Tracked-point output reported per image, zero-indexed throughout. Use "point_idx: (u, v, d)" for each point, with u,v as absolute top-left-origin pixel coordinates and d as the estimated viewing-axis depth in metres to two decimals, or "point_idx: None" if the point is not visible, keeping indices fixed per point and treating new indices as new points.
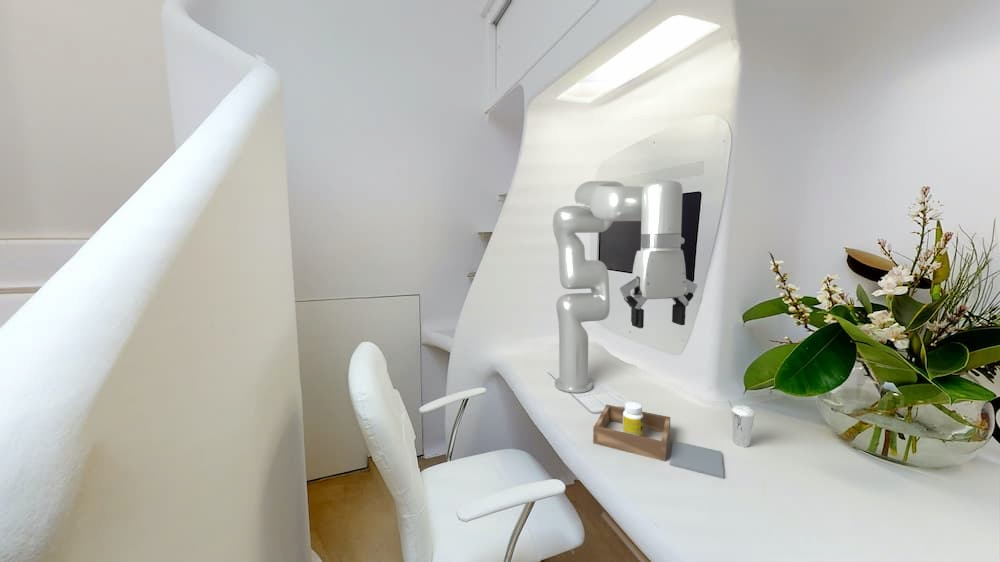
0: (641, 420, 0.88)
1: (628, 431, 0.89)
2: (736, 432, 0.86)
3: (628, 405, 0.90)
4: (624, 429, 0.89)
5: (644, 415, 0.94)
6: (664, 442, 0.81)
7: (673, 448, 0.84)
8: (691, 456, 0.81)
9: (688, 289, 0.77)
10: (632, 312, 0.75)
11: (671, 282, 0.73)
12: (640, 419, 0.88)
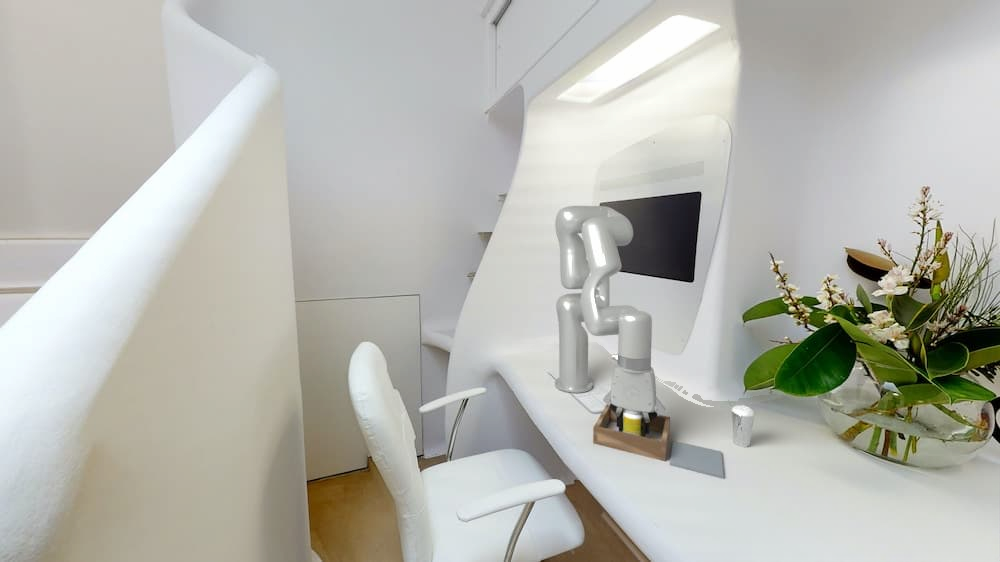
0: (641, 420, 0.88)
1: (628, 431, 0.89)
2: (736, 432, 0.86)
3: None
4: (624, 429, 0.89)
5: None
6: (664, 442, 0.81)
7: (673, 448, 0.84)
8: (691, 456, 0.81)
9: (611, 400, 0.92)
10: (648, 424, 0.88)
11: None
12: (640, 419, 0.88)
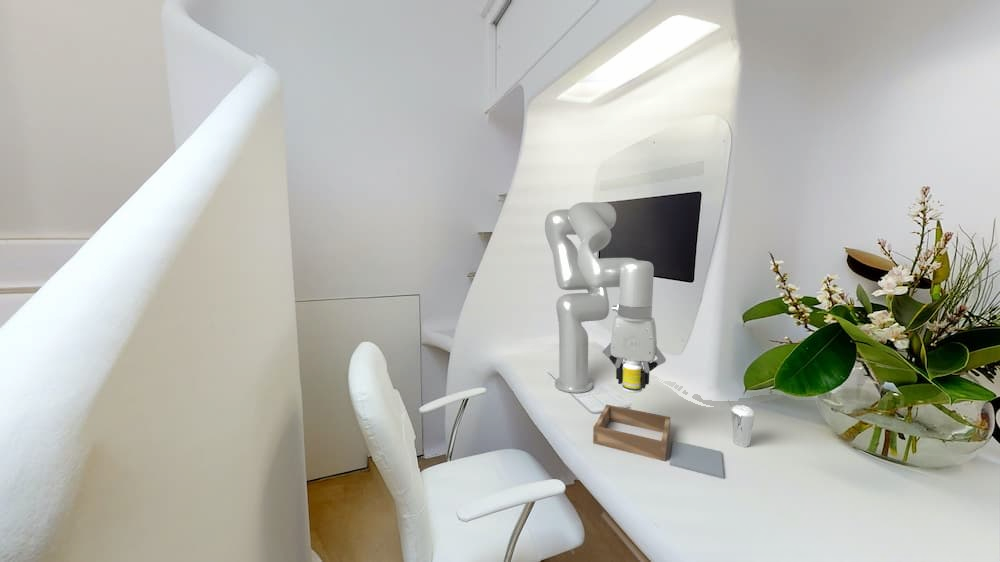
0: (641, 370, 0.87)
1: (628, 382, 0.88)
2: (736, 432, 0.86)
3: None
4: (624, 380, 0.89)
5: (644, 415, 0.94)
6: (664, 442, 0.81)
7: (673, 448, 0.84)
8: (691, 456, 0.81)
9: (610, 352, 0.91)
10: (648, 375, 0.87)
11: None
12: (640, 369, 0.87)
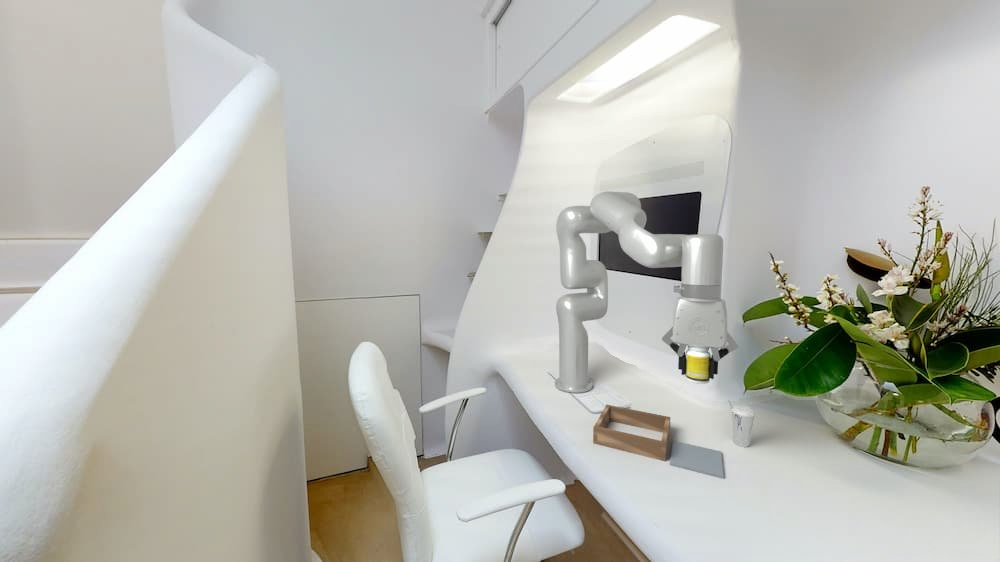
0: (709, 358, 0.77)
1: (694, 371, 0.78)
2: (736, 432, 0.86)
3: None
4: (689, 370, 0.78)
5: (644, 415, 0.94)
6: (664, 442, 0.81)
7: (673, 448, 0.84)
8: (691, 456, 0.81)
9: (671, 339, 0.81)
10: None
11: None
12: (708, 357, 0.77)
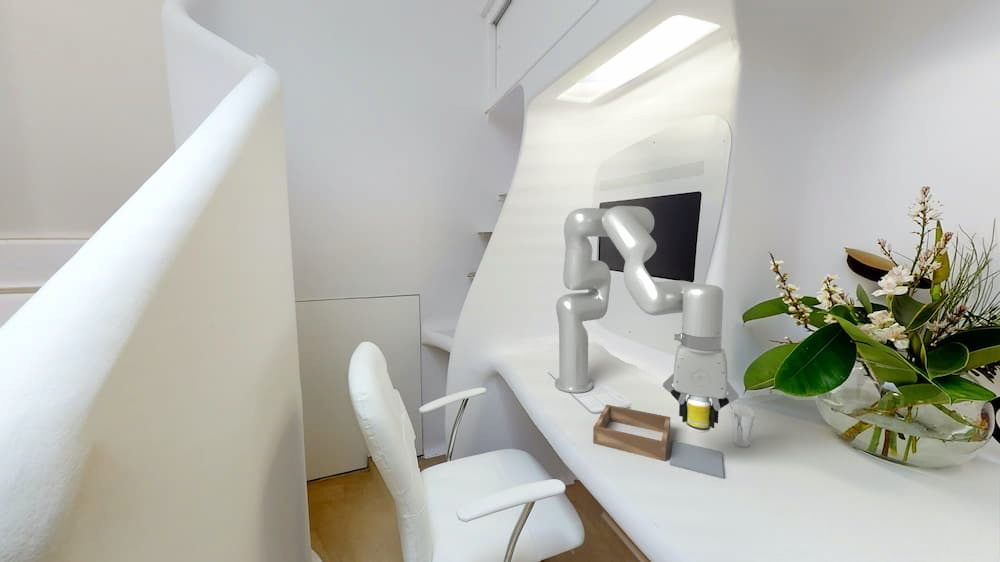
0: (709, 407, 0.78)
1: (694, 420, 0.78)
2: (736, 432, 0.86)
3: None
4: (689, 418, 0.79)
5: (644, 415, 0.94)
6: (664, 442, 0.81)
7: (673, 448, 0.84)
8: (691, 456, 0.81)
9: (672, 386, 0.82)
10: None
11: None
12: (709, 406, 0.78)
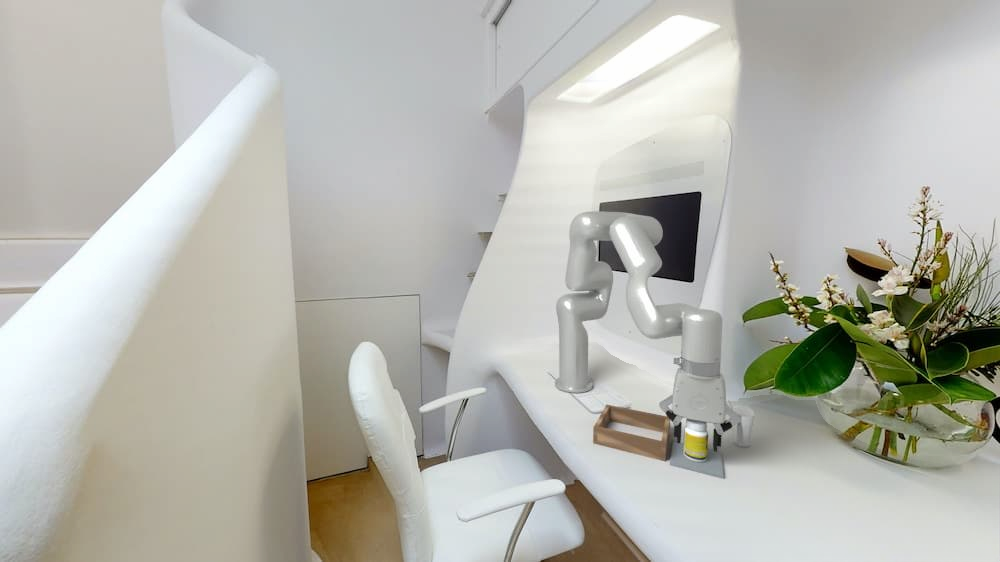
0: (706, 437, 0.79)
1: (692, 450, 0.79)
2: (736, 432, 0.86)
3: (691, 420, 0.80)
4: (687, 447, 0.80)
5: (644, 415, 0.94)
6: (664, 442, 0.81)
7: (673, 448, 0.84)
8: None
9: (667, 407, 0.83)
10: None
11: None
12: (706, 436, 0.79)
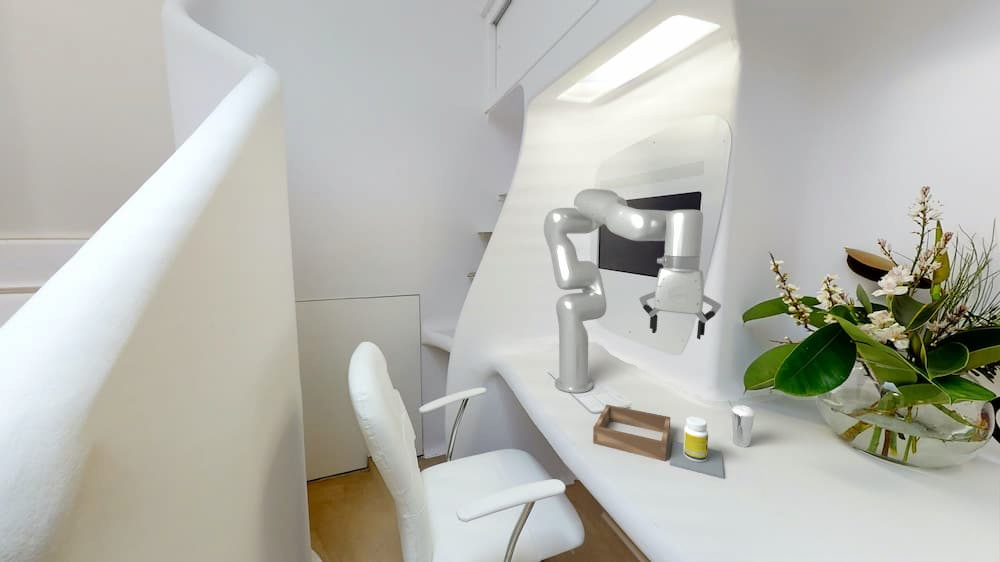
0: (706, 437, 0.79)
1: (692, 450, 0.79)
2: (736, 432, 0.86)
3: (691, 420, 0.80)
4: (687, 447, 0.80)
5: (644, 415, 0.94)
6: (664, 442, 0.81)
7: (673, 448, 0.84)
8: None
9: (646, 301, 0.89)
10: (704, 325, 0.83)
11: None
12: (706, 436, 0.79)
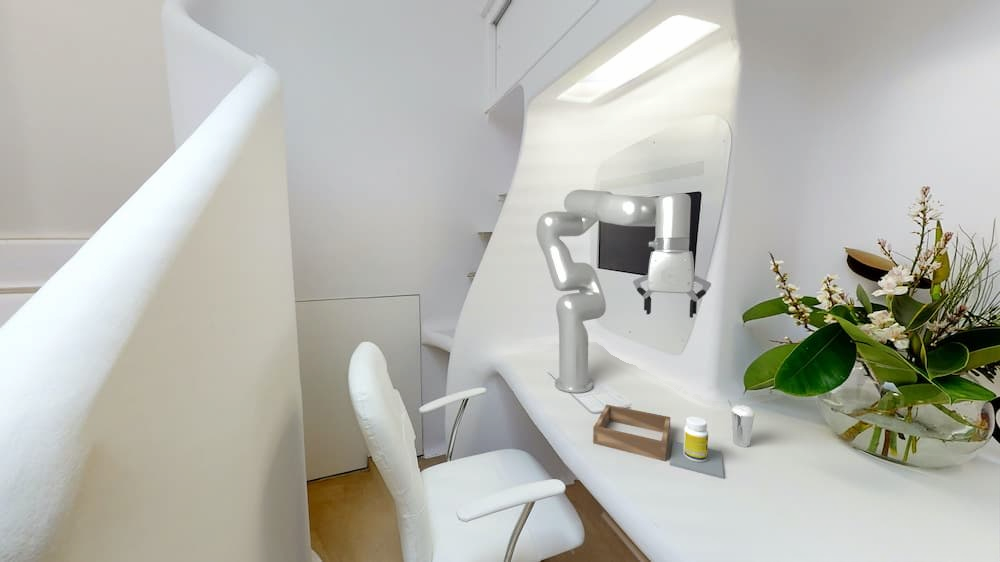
0: (706, 438, 0.79)
1: (692, 450, 0.79)
2: (736, 432, 0.86)
3: (691, 420, 0.80)
4: (687, 447, 0.80)
5: (644, 415, 0.94)
6: (664, 442, 0.81)
7: (673, 448, 0.84)
8: None
9: (640, 284, 0.93)
10: (696, 304, 0.87)
11: None
12: (706, 436, 0.79)
